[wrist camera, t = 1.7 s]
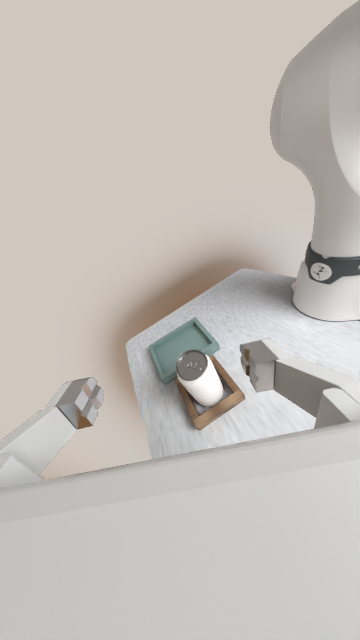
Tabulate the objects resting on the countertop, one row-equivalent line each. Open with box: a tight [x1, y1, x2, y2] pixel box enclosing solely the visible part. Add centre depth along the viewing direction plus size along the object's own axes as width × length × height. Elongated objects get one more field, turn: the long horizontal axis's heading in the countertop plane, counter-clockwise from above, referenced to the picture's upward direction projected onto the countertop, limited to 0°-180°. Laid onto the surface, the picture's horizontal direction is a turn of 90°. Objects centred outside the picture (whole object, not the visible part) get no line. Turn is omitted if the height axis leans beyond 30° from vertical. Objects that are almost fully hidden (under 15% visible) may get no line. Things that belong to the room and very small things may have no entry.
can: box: [175, 349, 223, 407], centre depth 30 cm, size 6×6×12 cm
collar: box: [175, 355, 245, 430], centre depth 33 cm, size 10×10×2 cm
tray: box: [148, 318, 220, 384], centre depth 43 cm, size 16×12×2 cm
